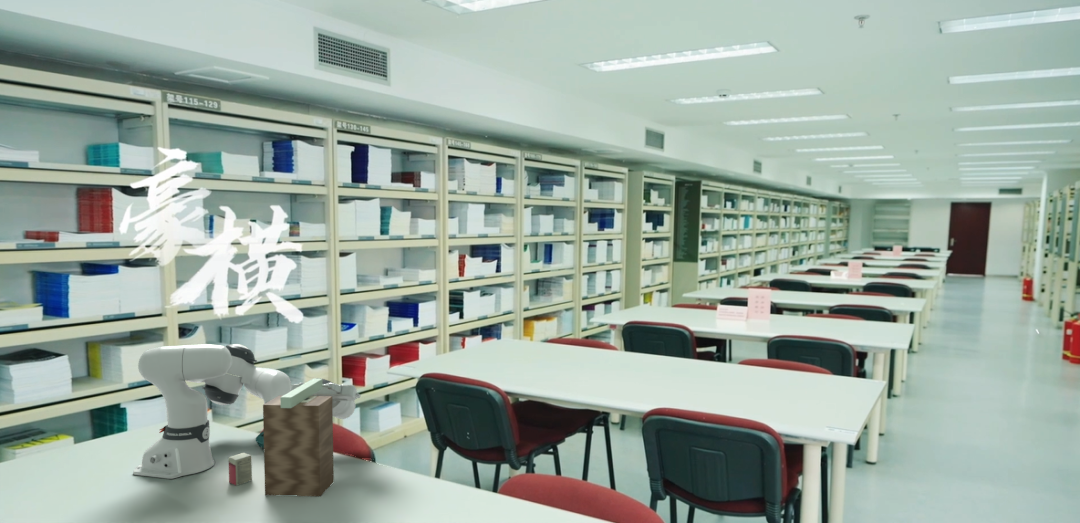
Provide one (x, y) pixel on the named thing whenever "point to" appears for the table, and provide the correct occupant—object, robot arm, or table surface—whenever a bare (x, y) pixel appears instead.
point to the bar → (301, 393)
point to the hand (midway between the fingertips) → (315, 385)
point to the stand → (298, 447)
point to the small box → (240, 468)
